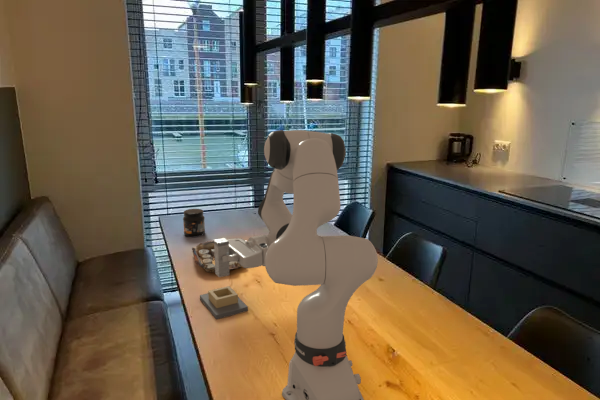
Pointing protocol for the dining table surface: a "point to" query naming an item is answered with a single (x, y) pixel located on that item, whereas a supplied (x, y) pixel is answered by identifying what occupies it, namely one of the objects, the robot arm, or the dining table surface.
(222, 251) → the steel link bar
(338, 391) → the robot arm
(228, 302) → the keeper plate
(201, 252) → the baking tray
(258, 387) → the dining table surface
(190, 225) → the supplement container
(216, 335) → the dining table surface
